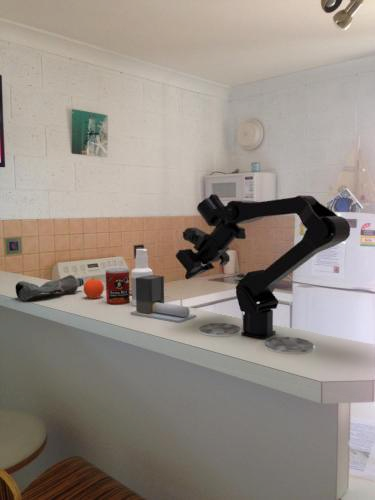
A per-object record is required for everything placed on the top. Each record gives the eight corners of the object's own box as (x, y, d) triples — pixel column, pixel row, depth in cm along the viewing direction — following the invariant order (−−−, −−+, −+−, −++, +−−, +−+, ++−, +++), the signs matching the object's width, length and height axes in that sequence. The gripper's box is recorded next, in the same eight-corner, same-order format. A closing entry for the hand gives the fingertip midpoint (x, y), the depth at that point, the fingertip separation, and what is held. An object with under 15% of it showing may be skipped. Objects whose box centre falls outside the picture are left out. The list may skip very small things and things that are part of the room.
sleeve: (164, 309, 139) (163, 276, 138) (149, 313, 133) (148, 279, 132) (151, 307, 142) (150, 274, 141) (136, 311, 136) (135, 277, 135)
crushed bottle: (24, 304, 152) (92, 292, 168) (22, 282, 152) (90, 273, 168) (10, 301, 162) (75, 290, 178) (8, 281, 162) (74, 272, 178)
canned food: (107, 305, 149) (106, 271, 148) (105, 300, 156) (104, 268, 155) (131, 304, 151) (130, 270, 150) (127, 299, 158) (127, 267, 157)
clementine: (102, 294, 166) (101, 275, 166) (110, 298, 161) (109, 277, 160) (80, 297, 162) (80, 277, 161) (88, 300, 156) (87, 280, 156)
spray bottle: (141, 301, 155) (140, 247, 153) (157, 303, 151) (156, 248, 149) (127, 305, 149) (126, 249, 147) (143, 307, 145) (142, 250, 143)
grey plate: (196, 317, 133) (196, 304, 132) (179, 322, 126) (179, 309, 126) (148, 309, 143) (148, 297, 143) (130, 314, 137) (130, 302, 136)
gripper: (219, 216, 131) (188, 253, 139) (180, 218, 116) (148, 259, 124) (244, 244, 127) (211, 281, 135) (207, 250, 112) (172, 291, 120)
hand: (186, 277), depth 128 cm, fingers closed
